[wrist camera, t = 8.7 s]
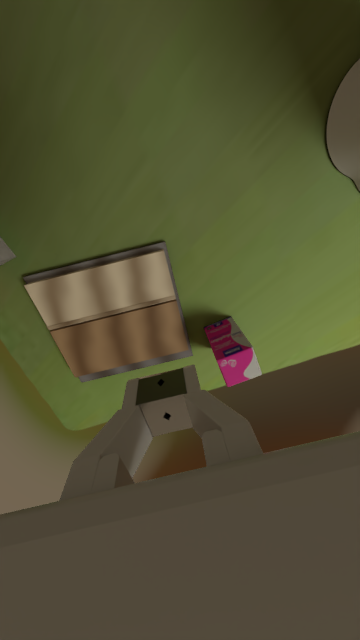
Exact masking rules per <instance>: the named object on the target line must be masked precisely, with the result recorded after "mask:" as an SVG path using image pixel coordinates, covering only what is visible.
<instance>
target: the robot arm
mask: <svg viewBox="0 0 360 640" xmlns="http://www.w3.org/2000/svg"><path fill="white" fill-rule="evenodd" d="M327 146H328V151H329V154H330V157H331V159H332V161H333V163H334V165H335V166H336V168H337V169H338V170H339V171H340V172H341V173H343V174H344V175H346V176H348V177H350V178H351V179H352V180H353V181H354V182H355V184H356V186H357V188H358V190H359V191H360V59H359V60H358V61H357V62H356V63H355V64H354V65H353V66H352V68H351V69H350V70H349V72H348V73H347V74H346V76H345V77H344V79H343V81H342V82H341V84H340V86H339V88H338V90H337V92H336V94H335V97H334V99H333V102H332V105H331V108H330V112H329V116H328V122H327ZM188 428H193V429H194V430H195V431H196V432H197V433H198V434H199V435H200V437H201V438H202V441H203V447H204V452H205V458H206V464H207V467H204V468H200V469H195V470H191V471H187V472H182V473H179V474H174V475H170V476H165V477H161V478H156V479H152V480H148V481H143V482H139V483H134V481H133V479H132V478H133V476H134V474H135V472H136V470H137V468H138V466H139V464H140V462H141V460H142V458H143V456H144V454H145V453H146V451H147V448H148V447H149V445H150V443H151V440H152V437H154V436H158V435H162V434H165V433H169V432H173V431H178V430H182V429H188ZM0 640H360V431H359V432H355V433H350V434H346V435H342V436H338V437H333V438H329V439H325V440H320V441H316V442H312V443H307V444H303V445H298V446H294V447H290V448H286V449H281V450H277V451H273V452H268V453H264V454H263V452H262V450H261V448H260V445H259V443H258V441H257V439H256V436H255V434H254V432H253V430H252V427H251V425H250V423H249V421H248V420H247V419H245V418H244V417H242V416H241V415H239V414H238V413H237V412H235V411H234V410H232V409H231V408H230V407H228V406H227V405H225V404H224V403H223V402H221V401H220V400H218V399H217V398H215V397H214V396H213V395H211V394H210V393H208V392H207V391H206V390H201V389H200V385H199V381H198V377H197V373H196V369H195V365H190V366H186V367H183V368H180V369H176V370H172V371H168V372H164V373H159V374H154V375H149V376H145V377H140V378H136V379H132V380H128V382H127V385H126V390H125V395H124V400H123V405H122V409H120V410H118V411H117V412H116V413H115V414H114V415H113V417H112V418H111V419H110V420H109V421H108V422H107V424H106V425H105V426H104V427H103V428H102V429H101V430H100V432H99V433H98V434H97V435H96V436H95V437H94V438H93V440H92V441H91V442H90V443H89V444H88V445H87V447H86V448H85V449H84V450H83V451H82V452H81V453H80V454H79V456H78V457H77V458H76V459H75V460H74V461H73V464H72V467H71V469H70V473H69V475H68V478H67V481H66V484H65V486H64V490H63V492H62V495H61V498H60V500H59V501H57V502H53V503H49V504H45V505H40V506H36V507H32V508H27V509H23V510H18V511H14V512H10V513H5V514H1V515H0Z"/></svg>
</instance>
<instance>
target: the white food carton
mask: <svg viewBox="0 0 360 640" xmlns="http://www.w3.org/2000/svg"><path fill="white" fill-rule="evenodd" d="M15 257H16V256H15V255H14V253H13V252H12V251H11V250H10V248H9V247H8V246H7V245H6V243H5V242H4V241H3V240H2V238H1V237H0V265H2V264H4V263H6V262H8V261H9V260H11V259H13V258H15Z"/></svg>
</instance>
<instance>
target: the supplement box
mask: <svg viewBox="0 0 360 640" xmlns="http://www.w3.org/2000/svg"><path fill="white" fill-rule="evenodd" d="M204 330H205V332H206V335H207V338H208V340H209V343H210V345H211V348H212V350H213V353H214V355H215V358H216V360H217V363H218V365H219V368H220V370H221V373H222V375H223V378H224V380H225V383H226V385H227V387H230V386H232V385H235V384H238V383H241V382H243V381H246V380H249V379H252V378H254V377H257V376H260V375H262V373H261V370H260V367H259V364H258V361H257V358H256V355H255V352H254V349H253V347H252V345H251V344H250V342H249V341H248V339H247V338H246V337H245V335H244V334H243V332H242V331H241V330H240V328H239V327H238V325H237V324H236V323H235V321H234V320H233V318H232V317H231V316H230V317H228V318H226V319H224V320H221V321H219V322H216V323H214V324H211V325H208V326H206V327H204Z"/></svg>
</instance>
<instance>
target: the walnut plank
mask: <svg viewBox="0 0 360 640" xmlns="http://www.w3.org/2000/svg"><path fill="white" fill-rule="evenodd" d="M50 333H51V335H52V337H53V338H54V340H55V342H56V344H57V346H58V347H59V349H60V351H61V353H62V355H63V356H64V358H65V360H66V362H67V364H68V365H69V367H70V369H71V371H72V373H73V374H74V376H75V377H79V376H83V375H87V374H91V373H95V372H100V371H104V370H108V369H112V368H116V367H120V366H124V365H129V364H133V363H137V362H141V361H145V360H149V359H153V358H158V357H162V356H166V355H170V354H174V353H178V352H182V351H186V350H189V349H188V345H187V341H186V337H185V333H184V329H183V325H182V321H181V317H180V313H179V309H178V305H177V301H176V299H174V300H170V301H166V302H162V303H158V304H154V305H150V306H146V307H142V308H138V309H133V310H129V311H125V312H121V313H117V314H113V315H109V316H105V317H101V318H97V319H93V320H89V321H85V322H81V323H77V324H72V325H68V326H64V327H60V328H56V329H52V330H51V331H50Z"/></svg>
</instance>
